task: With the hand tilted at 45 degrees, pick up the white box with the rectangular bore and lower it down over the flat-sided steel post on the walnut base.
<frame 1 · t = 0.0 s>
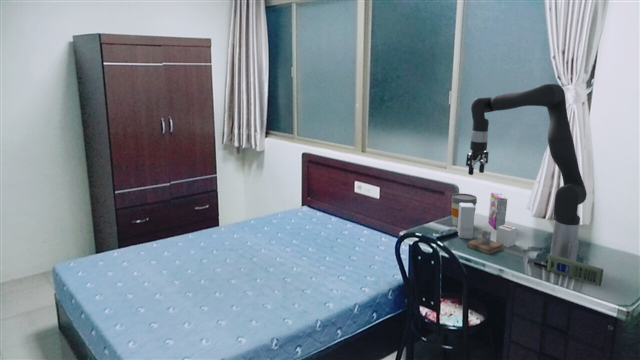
hand: (476, 173, 231), 29 cm above the table, tool pointing down, fingers open, 8 cm apart
handheld radio: (565, 275, 189), on the table
white box: (505, 244, 221), on the table
lidded canister: (461, 224, 248), on the table
candy bar box: (495, 226, 245), on the table
skincare box: (464, 236, 231), on the table
shaft base: (485, 247, 216), on the table
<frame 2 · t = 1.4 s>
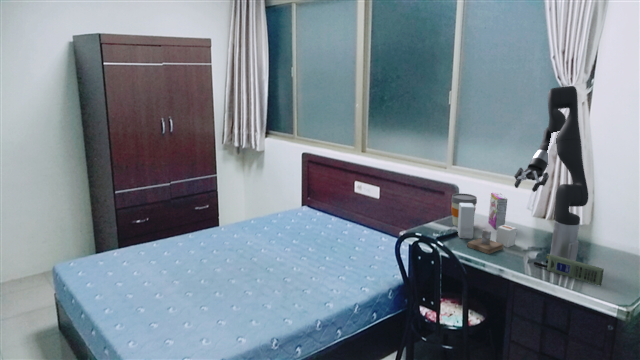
hand: (524, 188, 222), 25 cm above the table, tool tilted 45°, fingers open, 8 cm apart
nothing on the table moved.
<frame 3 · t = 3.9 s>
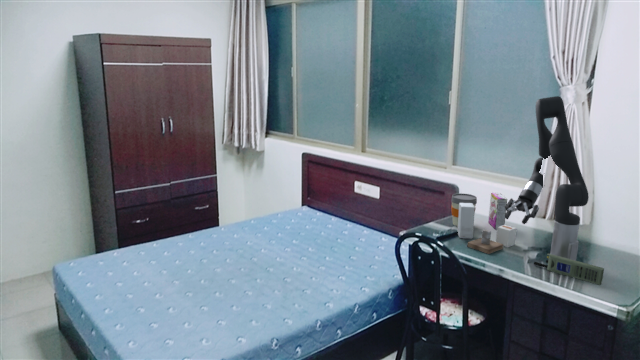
hand: (514, 220, 222), 10 cm above the table, tool tilted 45°, fingers open, 8 cm apart
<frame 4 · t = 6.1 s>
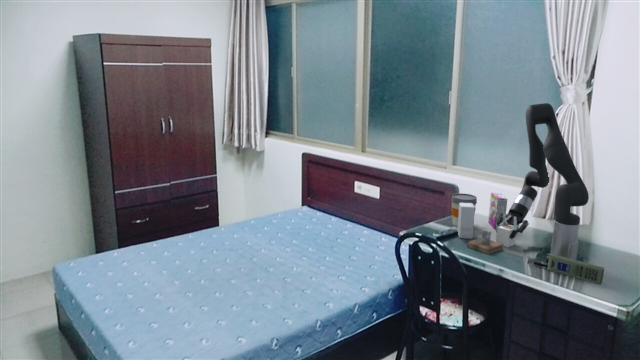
hand: (504, 235, 219), 4 cm above the table, tool tilted 45°, fingers closed on white box, 6 cm apart
white box: (505, 244, 221), on the table, touching gripper
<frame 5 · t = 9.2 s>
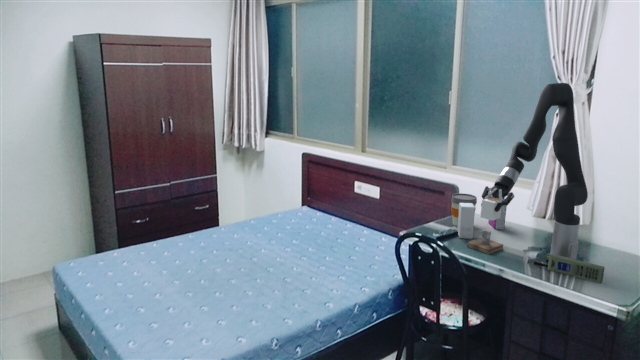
hand: (489, 209, 212), 18 cm above the table, tool tilted 45°, fingers closed on white box, 6 cm apart
white box: (490, 217, 214), point 14 cm above the table, touching gripper
when the fingers open (7 cm above the table, at t = 12.6 s): white box stays where it is, resting on shaft base.
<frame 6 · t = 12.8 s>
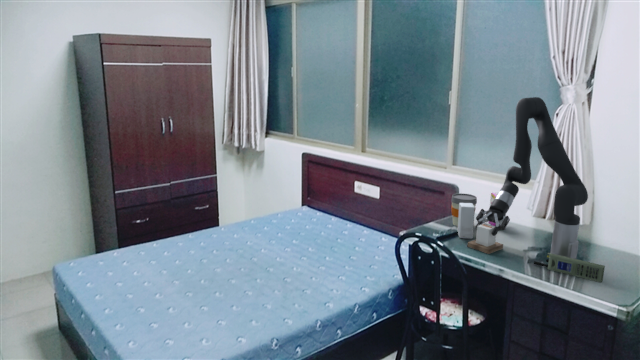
hand: (484, 232, 214), 8 cm above the table, tool tilted 45°, fingers open, 7 cm apart
white box: (485, 243, 216), point 2 cm above the table, touching shaft base
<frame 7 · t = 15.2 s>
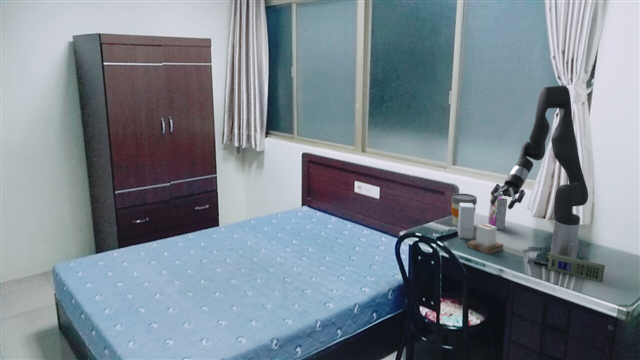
hand: (500, 206, 218), 18 cm above the table, tool tilted 45°, fingers open, 8 cm apart
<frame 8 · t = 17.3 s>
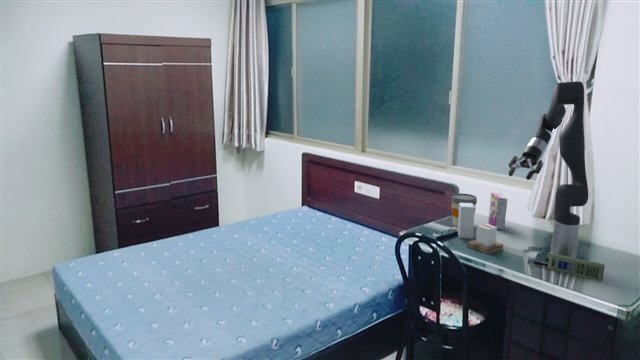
hand: (518, 177, 219), 31 cm above the table, tool tilted 45°, fingers open, 8 cm apart
at the end: white box 0.1 cm off-centre on the shaft base, point 2.0 cm above the shaft base's base; white box tilted 0°; the gripper is holding nothing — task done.
